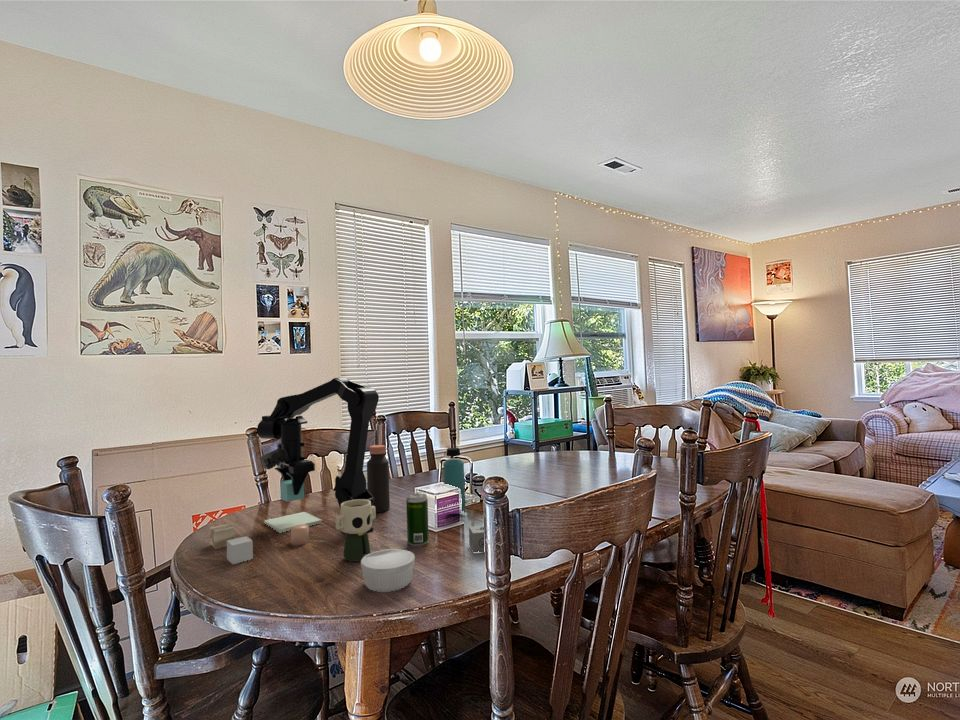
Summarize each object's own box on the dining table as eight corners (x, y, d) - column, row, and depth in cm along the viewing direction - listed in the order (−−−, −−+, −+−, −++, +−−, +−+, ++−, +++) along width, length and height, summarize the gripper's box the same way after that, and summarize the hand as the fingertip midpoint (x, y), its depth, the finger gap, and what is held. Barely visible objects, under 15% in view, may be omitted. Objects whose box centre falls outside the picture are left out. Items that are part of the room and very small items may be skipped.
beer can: (430, 545, 127) (429, 497, 127) (409, 548, 125) (408, 499, 125) (425, 538, 132) (424, 492, 132) (405, 541, 130) (404, 494, 130)
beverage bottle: (456, 519, 147) (454, 450, 148) (439, 515, 151) (437, 448, 152) (470, 513, 153) (468, 447, 153) (453, 510, 157) (452, 445, 157)
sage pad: (321, 523, 147) (321, 519, 147) (280, 533, 139) (279, 529, 139) (304, 514, 156) (304, 511, 156) (264, 523, 148) (264, 520, 148)
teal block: (304, 498, 147) (303, 481, 147) (287, 501, 144) (286, 484, 144) (297, 495, 151) (297, 478, 151) (280, 498, 147) (280, 481, 148)
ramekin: (394, 568, 113) (393, 544, 113) (426, 582, 105) (426, 556, 105) (350, 584, 105) (349, 559, 105) (382, 601, 97) (381, 573, 97)
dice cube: (493, 552, 121) (493, 531, 121) (473, 554, 120) (473, 533, 120) (489, 545, 126) (488, 525, 126) (469, 547, 125) (468, 526, 125)
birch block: (234, 545, 131) (234, 527, 131) (215, 549, 128) (215, 531, 128) (229, 540, 134) (229, 523, 134) (210, 545, 131) (210, 527, 131)
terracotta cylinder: (311, 542, 131) (311, 526, 131) (294, 546, 128) (294, 530, 128) (304, 538, 134) (304, 523, 134) (288, 542, 131) (287, 527, 132)
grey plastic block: (252, 559, 120) (252, 540, 120) (232, 564, 117) (232, 545, 117) (246, 554, 124) (246, 536, 124) (227, 559, 121) (226, 540, 121)
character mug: (345, 569, 113) (344, 511, 113) (328, 561, 117) (327, 505, 118) (385, 555, 121) (383, 500, 121) (367, 548, 126) (366, 495, 126)
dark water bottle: (365, 508, 161) (364, 445, 161) (386, 505, 164) (385, 443, 164) (370, 513, 155) (369, 448, 155) (392, 510, 158) (390, 446, 158)
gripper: (251, 439, 149) (252, 493, 149) (275, 446, 135) (276, 504, 135) (289, 435, 156) (290, 486, 156) (315, 441, 143) (316, 496, 142)
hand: (292, 493), depth 147 cm, fingers closed on teal block, 5 cm apart
